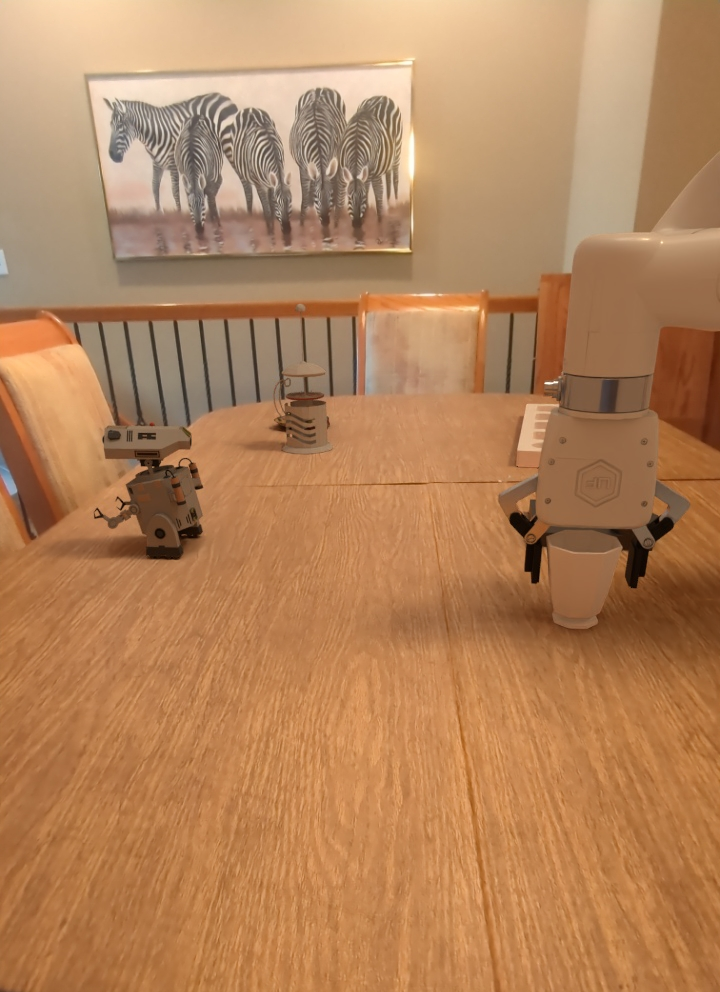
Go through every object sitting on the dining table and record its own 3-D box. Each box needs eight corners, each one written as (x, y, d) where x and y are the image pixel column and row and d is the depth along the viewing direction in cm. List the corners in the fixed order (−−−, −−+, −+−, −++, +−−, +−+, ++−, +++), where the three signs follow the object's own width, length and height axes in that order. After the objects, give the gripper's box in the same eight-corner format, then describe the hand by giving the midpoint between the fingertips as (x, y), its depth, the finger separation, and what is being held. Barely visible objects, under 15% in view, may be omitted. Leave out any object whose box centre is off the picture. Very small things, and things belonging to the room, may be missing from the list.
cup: (528, 626, 72) (535, 547, 69) (557, 589, 80) (564, 516, 76) (602, 641, 69) (614, 558, 66) (625, 601, 77) (636, 525, 73)
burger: (272, 423, 165) (269, 387, 162) (325, 420, 167) (324, 385, 164) (276, 434, 155) (274, 396, 151) (333, 431, 156) (332, 393, 153)
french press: (314, 456, 137) (306, 305, 126) (263, 449, 142) (252, 305, 131) (343, 445, 144) (339, 302, 133) (294, 439, 150) (286, 301, 139)
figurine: (130, 533, 100) (110, 417, 93) (214, 535, 98) (201, 417, 92) (101, 558, 92) (77, 433, 85) (192, 560, 90) (175, 433, 84)
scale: (640, 515, 102) (644, 490, 100) (658, 552, 89) (663, 524, 88) (528, 512, 104) (530, 487, 103) (531, 547, 92) (534, 520, 90)
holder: (525, 416, 166) (526, 403, 165) (611, 418, 162) (612, 405, 161) (515, 466, 127) (517, 450, 126) (628, 470, 123) (630, 454, 122)
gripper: (502, 401, 63) (490, 591, 71) (722, 403, 60) (684, 601, 68) (502, 387, 70) (491, 563, 78) (701, 388, 67) (669, 570, 75)
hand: (582, 580), depth 73 cm, fingers open, 8 cm apart
